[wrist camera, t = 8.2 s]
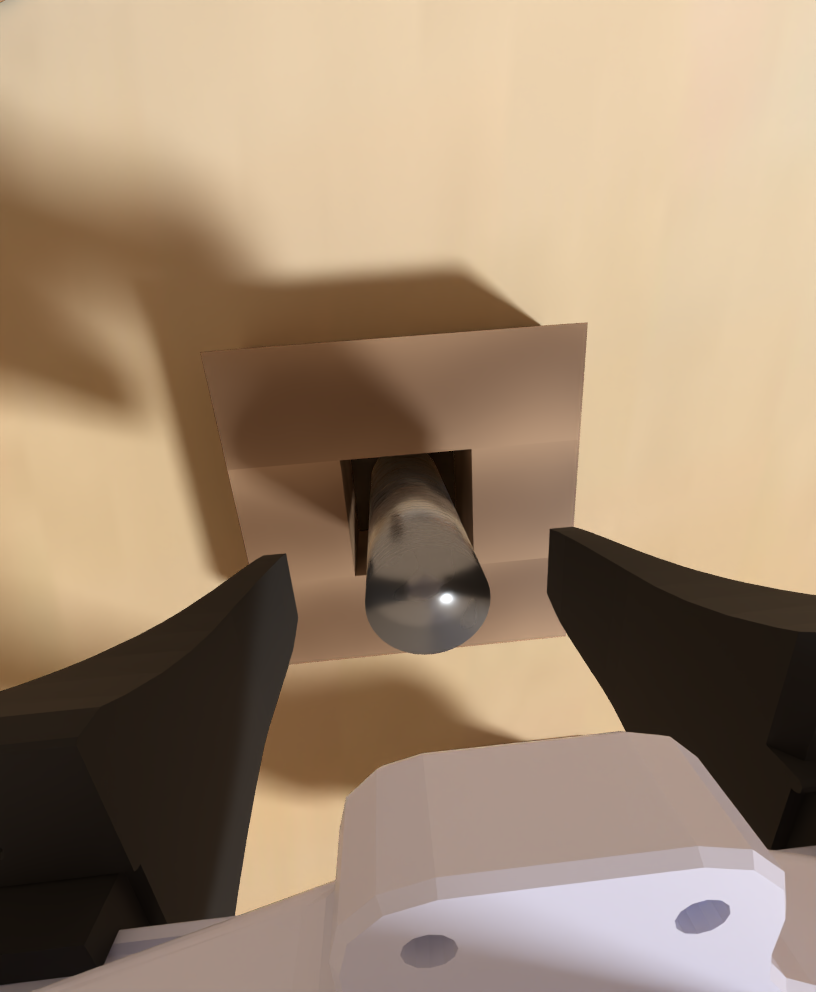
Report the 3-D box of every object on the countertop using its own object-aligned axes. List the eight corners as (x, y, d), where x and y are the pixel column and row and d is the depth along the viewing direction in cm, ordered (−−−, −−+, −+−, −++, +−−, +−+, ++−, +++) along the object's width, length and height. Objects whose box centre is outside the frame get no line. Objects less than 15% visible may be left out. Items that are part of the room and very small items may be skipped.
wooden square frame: (533, 583, 21) (565, 635, 18) (291, 607, 21) (272, 666, 17) (542, 325, 17) (587, 322, 13) (239, 348, 17) (200, 352, 13)
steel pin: (440, 506, 20) (491, 647, 11) (375, 513, 20) (372, 660, 11) (436, 443, 19) (489, 540, 10) (367, 449, 19) (357, 554, 10)
